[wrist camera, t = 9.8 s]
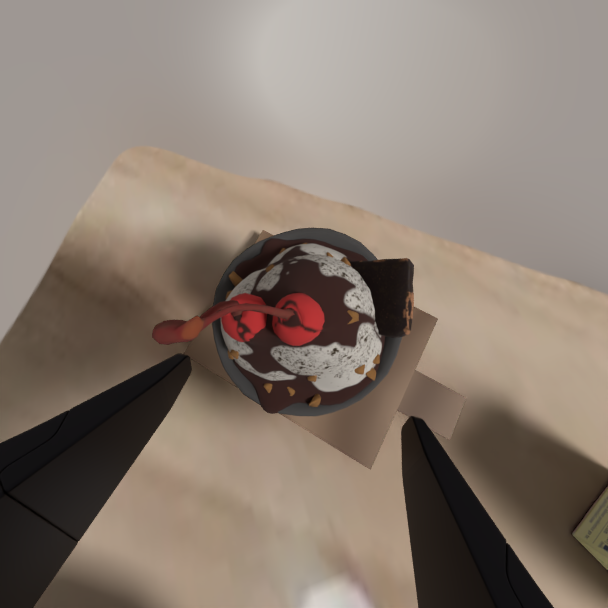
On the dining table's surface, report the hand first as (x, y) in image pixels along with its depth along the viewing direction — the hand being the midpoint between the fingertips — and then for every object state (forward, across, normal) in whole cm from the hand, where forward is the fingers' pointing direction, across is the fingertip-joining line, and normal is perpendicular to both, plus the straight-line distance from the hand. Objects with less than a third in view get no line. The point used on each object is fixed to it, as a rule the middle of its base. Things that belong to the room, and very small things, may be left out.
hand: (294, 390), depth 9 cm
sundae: (+8, 0, +4) cm, 9 cm away
